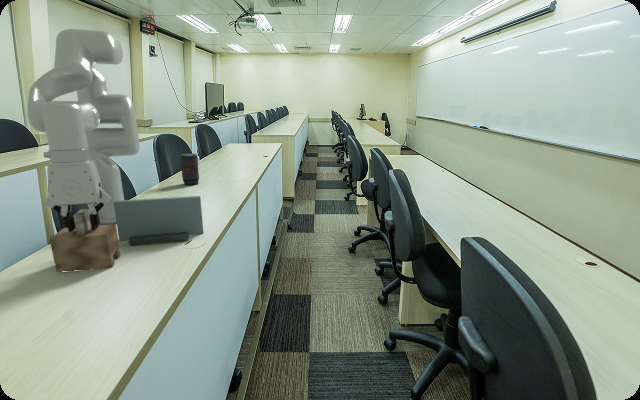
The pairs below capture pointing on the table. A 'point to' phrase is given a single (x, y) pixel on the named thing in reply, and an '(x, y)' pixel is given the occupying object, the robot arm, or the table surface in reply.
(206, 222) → the table surface
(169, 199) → the wall board
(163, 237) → the rail
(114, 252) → the walnut cabinet
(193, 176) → the camera lens
